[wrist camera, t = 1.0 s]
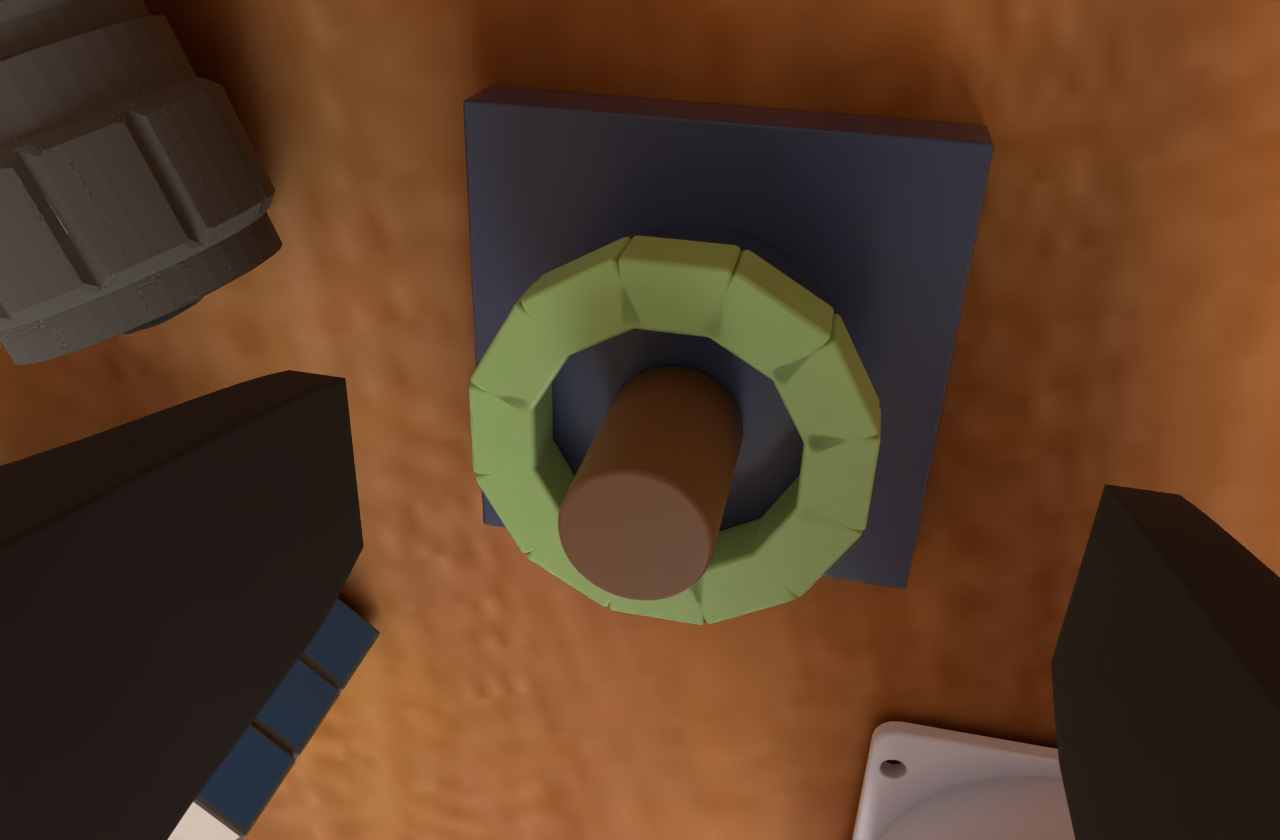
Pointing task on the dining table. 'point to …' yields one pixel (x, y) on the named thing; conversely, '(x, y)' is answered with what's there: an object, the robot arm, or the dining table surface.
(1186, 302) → the dining table surface
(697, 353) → the ring post
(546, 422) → the ring toss ring
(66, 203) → the flashlight
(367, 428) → the dining table surface
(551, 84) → the dining table surface
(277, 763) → the puzzle toy
